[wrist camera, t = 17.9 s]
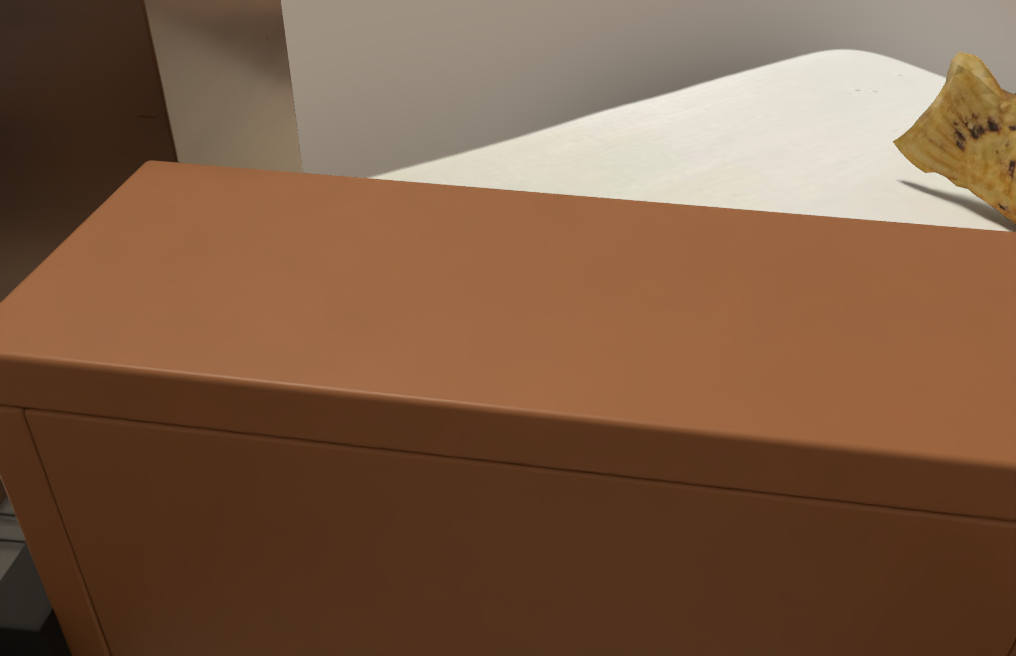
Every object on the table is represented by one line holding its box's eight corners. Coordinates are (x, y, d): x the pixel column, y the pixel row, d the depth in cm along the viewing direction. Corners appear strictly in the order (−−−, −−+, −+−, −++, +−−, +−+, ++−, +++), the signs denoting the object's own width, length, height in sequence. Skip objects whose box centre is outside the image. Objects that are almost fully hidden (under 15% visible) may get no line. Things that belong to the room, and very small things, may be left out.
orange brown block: (147, 854, 13) (-54, 349, 8) (248, 626, 16) (146, 157, 11) (888, 976, 12) (1173, 482, 7) (847, 708, 15) (1026, 231, 10)
